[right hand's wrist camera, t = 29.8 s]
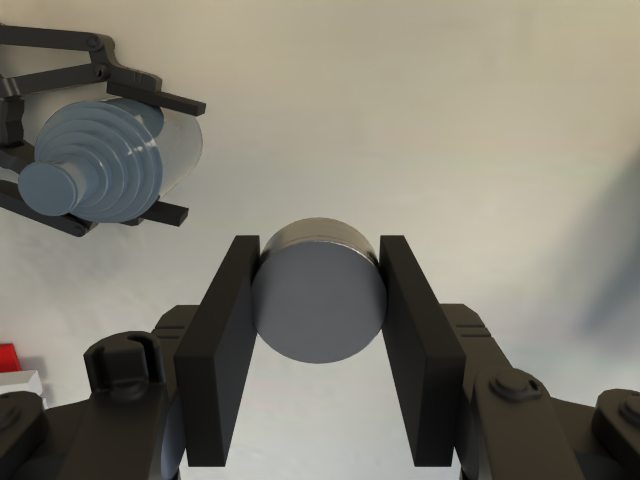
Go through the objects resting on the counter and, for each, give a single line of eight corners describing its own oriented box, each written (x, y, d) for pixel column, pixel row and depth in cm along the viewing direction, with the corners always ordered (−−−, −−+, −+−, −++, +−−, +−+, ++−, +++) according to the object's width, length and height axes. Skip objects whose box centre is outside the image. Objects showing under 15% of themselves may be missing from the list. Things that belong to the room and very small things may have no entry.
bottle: (201, 95, 39) (117, 115, 22) (203, 184, 42) (132, 264, 25) (107, 89, 39) (-53, 104, 21) (116, 179, 42) (-18, 257, 24)
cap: (320, 191, 13) (320, 210, 12) (404, 276, 15) (417, 307, 13) (232, 273, 14) (219, 304, 13) (317, 347, 15) (316, 386, 14)
